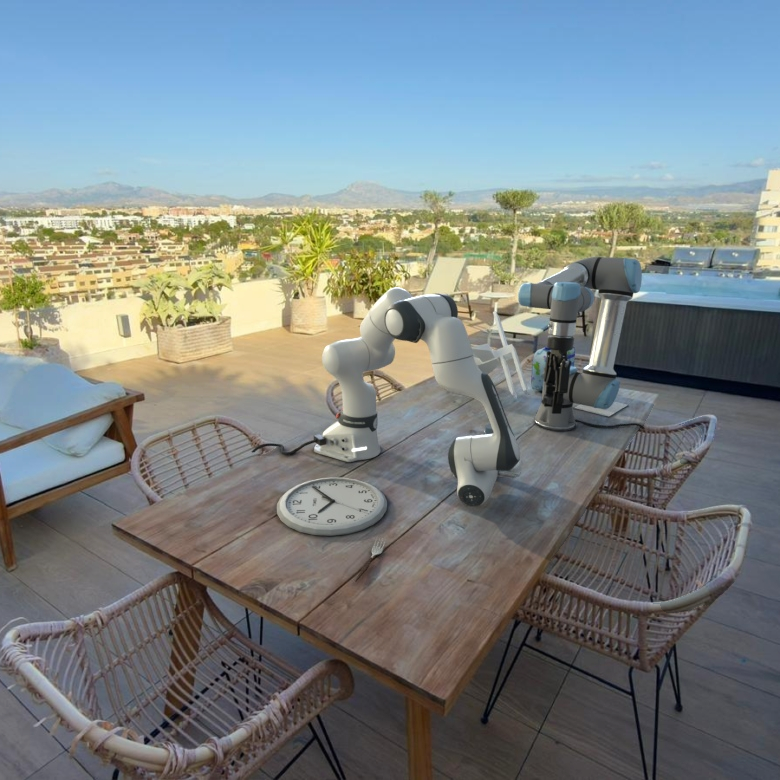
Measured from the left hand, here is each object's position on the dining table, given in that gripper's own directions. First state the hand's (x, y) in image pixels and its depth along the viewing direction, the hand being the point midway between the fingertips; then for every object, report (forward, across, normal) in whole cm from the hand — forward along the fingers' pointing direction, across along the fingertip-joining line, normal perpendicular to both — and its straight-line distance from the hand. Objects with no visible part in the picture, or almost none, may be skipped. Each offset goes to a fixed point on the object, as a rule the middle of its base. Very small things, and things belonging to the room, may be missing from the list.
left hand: (490, 452), depth 162 cm
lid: (+10, -16, -17) cm, 26 cm away
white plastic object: (+82, +19, +7) cm, 84 cm away
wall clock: (-37, +36, +7) cm, 52 cm away
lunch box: (+102, -12, +7) cm, 102 cm away
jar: (-1, 0, +7) cm, 7 cm away
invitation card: (+82, -34, +7) cm, 89 cm away
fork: (-57, +17, +7) cm, 60 cm away
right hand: (+10, -16, -13) cm, 23 cm away
